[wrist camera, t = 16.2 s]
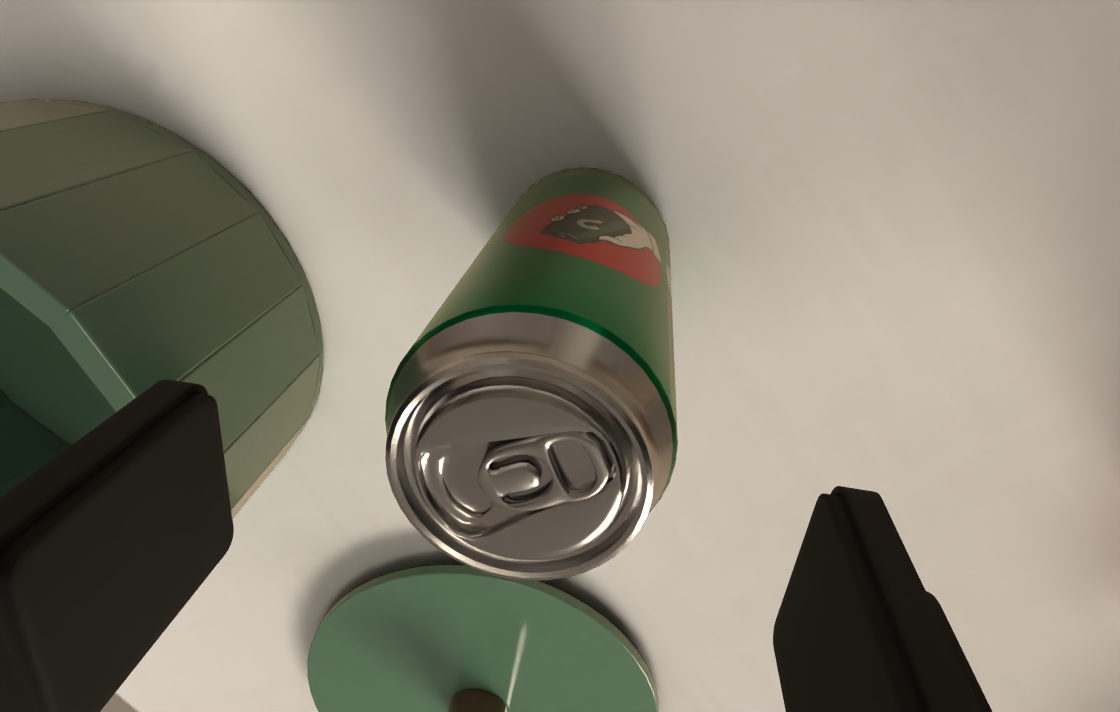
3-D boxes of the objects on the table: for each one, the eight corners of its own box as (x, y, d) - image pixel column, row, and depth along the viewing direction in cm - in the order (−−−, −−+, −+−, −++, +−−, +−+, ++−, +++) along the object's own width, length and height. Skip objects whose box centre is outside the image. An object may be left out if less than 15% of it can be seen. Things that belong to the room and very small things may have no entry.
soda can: (480, 197, 21) (303, 387, 11) (638, 137, 20) (614, 289, 9) (542, 339, 23) (443, 621, 13) (690, 294, 22) (719, 567, 11)
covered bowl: (-137, 71, 22) (-550, 106, 14) (315, 132, 21) (124, 204, 14) (-12, 450, 29) (-251, 608, 21) (335, 509, 28) (215, 697, 20)
